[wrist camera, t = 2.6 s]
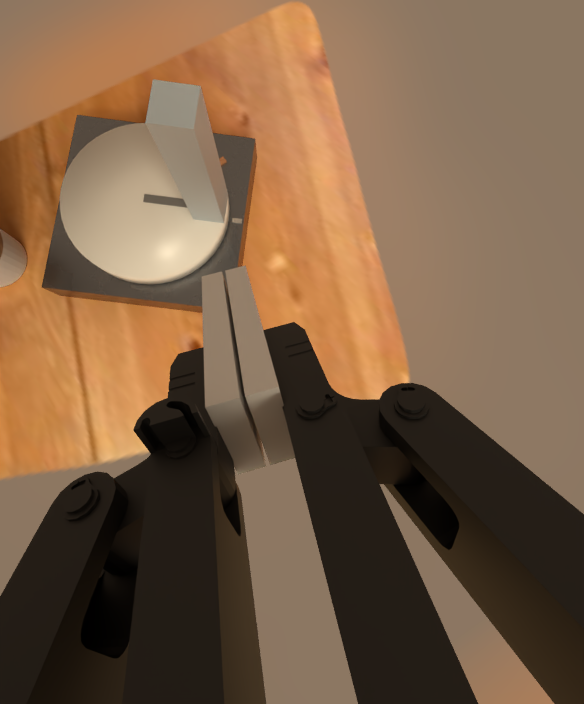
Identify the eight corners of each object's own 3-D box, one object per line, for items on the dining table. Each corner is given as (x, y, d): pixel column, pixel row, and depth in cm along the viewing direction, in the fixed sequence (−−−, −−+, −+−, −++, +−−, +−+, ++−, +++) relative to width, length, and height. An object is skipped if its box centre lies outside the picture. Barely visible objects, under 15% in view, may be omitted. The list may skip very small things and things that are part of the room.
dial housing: (60, 295, 37) (40, 286, 34) (92, 135, 39) (76, 113, 36) (235, 316, 37) (231, 309, 34) (256, 157, 40) (255, 137, 36)
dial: (58, 274, 34) (-95, 193, 20) (87, 128, 36) (-34, -40, 22) (218, 293, 34) (177, 227, 20) (239, 148, 36) (214, -3, 22)
